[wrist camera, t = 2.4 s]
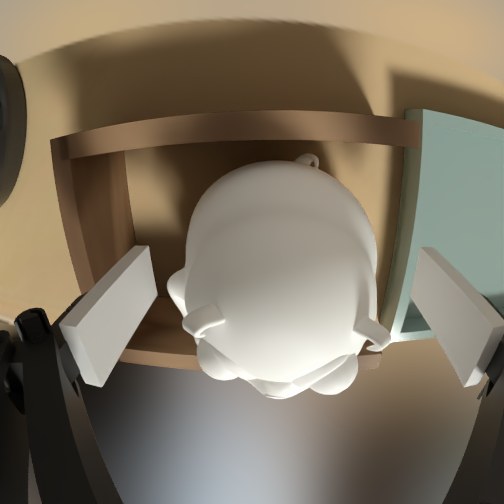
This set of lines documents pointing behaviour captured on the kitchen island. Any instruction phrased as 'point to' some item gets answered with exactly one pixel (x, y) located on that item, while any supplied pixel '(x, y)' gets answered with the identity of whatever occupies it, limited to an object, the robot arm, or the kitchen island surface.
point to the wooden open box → (119, 212)
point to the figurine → (280, 279)
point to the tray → (448, 214)
